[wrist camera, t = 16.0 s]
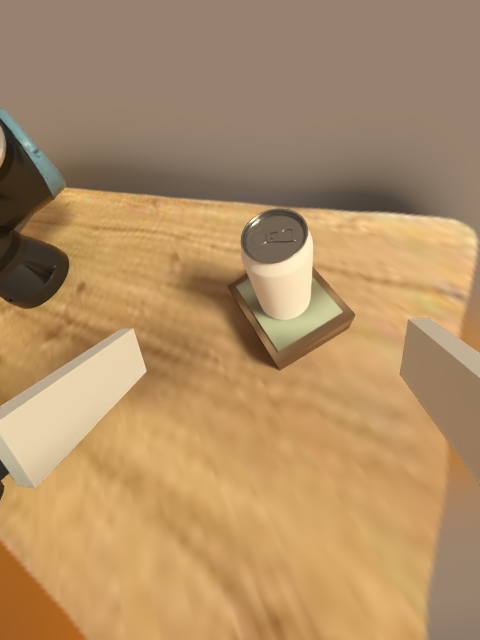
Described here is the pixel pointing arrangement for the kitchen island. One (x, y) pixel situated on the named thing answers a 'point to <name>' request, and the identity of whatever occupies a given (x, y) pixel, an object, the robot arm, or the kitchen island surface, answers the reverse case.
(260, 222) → the can
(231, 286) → the plinth
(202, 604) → the kitchen island surface
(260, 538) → the kitchen island surface
